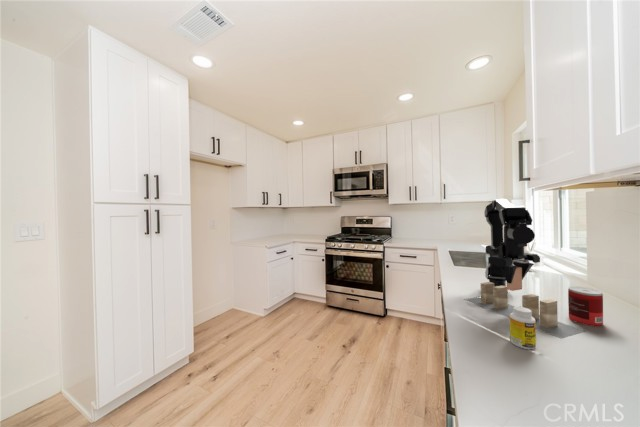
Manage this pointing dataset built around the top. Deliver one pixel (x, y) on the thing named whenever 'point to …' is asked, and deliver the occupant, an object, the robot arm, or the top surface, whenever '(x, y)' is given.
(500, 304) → the domino
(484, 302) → the domino
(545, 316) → the wooden block
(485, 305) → the mat
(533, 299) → the domino
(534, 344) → the supplement bottle
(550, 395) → the top surface
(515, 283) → the domino
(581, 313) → the canned food
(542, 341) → the top surface
